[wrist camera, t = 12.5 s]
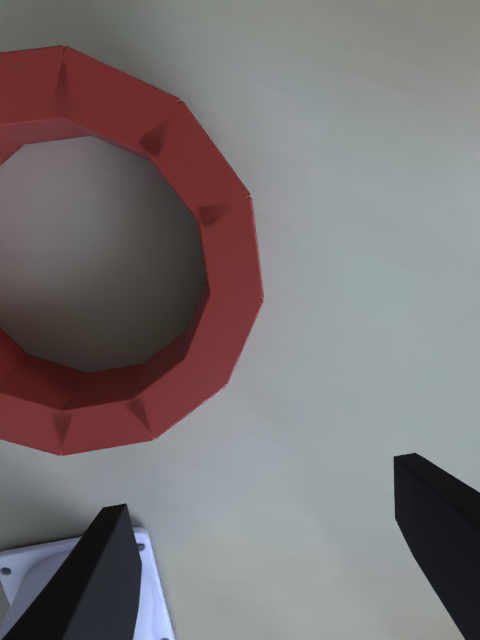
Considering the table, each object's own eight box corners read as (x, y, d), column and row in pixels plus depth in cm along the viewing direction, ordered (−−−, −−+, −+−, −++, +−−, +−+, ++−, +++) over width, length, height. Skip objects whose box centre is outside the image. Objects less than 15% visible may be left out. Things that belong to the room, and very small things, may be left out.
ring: (265, 381, 20) (278, 419, 17) (-22, 429, 19) (-70, 479, 16) (224, 61, 16) (230, 23, 12) (-143, 107, 15) (-243, 81, 12)
